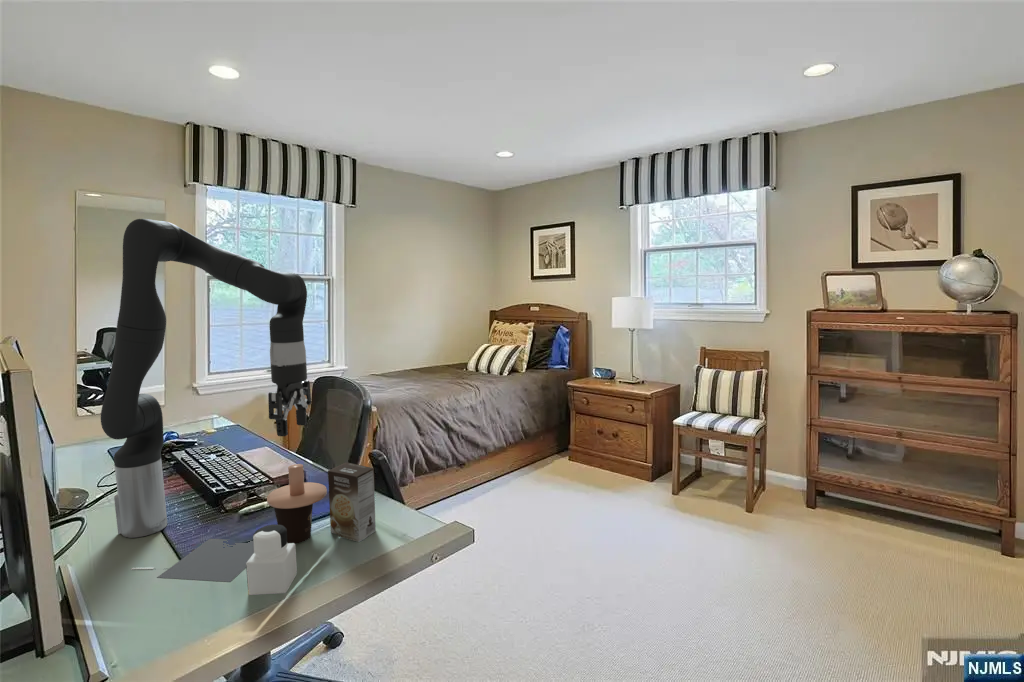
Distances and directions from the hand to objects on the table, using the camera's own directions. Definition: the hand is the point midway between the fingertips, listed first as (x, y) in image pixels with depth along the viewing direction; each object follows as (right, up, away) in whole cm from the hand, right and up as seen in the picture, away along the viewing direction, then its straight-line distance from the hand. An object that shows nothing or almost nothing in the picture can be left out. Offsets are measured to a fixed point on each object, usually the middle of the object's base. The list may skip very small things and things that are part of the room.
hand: (292, 430), depth 123 cm
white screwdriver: (-21, -28, -11) cm, 37 cm away
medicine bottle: (+3, -29, -17) cm, 33 cm away
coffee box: (+13, -26, +5) cm, 29 cm away
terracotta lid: (0, -16, +2) cm, 16 cm away
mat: (-13, -27, -7) cm, 31 cm away
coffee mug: (0, -26, +3) cm, 26 cm away
